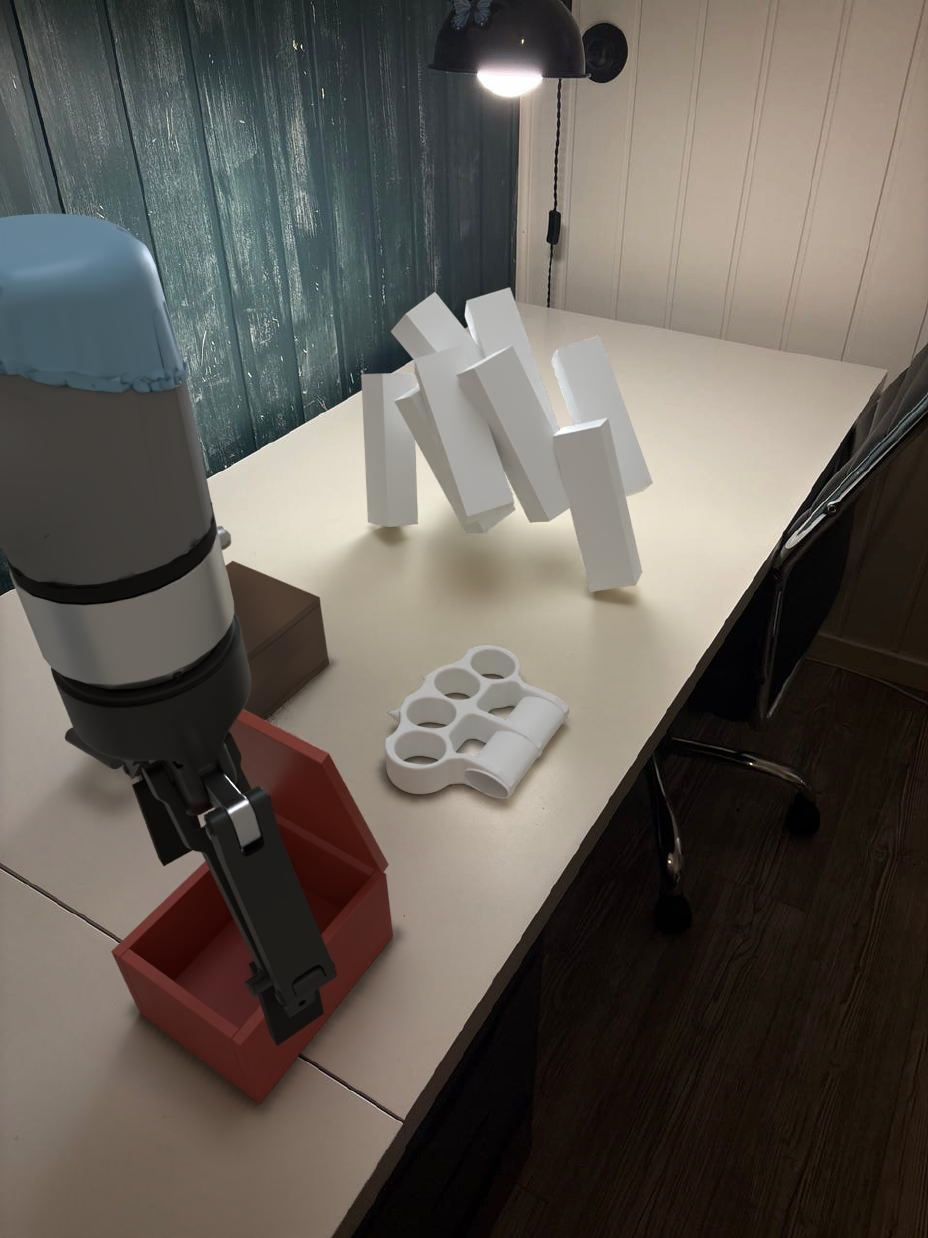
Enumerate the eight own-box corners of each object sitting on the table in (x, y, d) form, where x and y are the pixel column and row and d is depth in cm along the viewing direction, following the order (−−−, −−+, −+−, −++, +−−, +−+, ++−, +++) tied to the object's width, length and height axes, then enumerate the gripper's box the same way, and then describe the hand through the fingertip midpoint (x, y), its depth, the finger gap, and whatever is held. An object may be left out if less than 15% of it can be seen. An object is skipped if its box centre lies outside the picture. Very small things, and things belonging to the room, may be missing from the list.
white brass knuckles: (490, 833, 77) (349, 766, 83) (583, 703, 89) (454, 653, 95) (490, 806, 75) (346, 740, 81) (585, 678, 86) (454, 628, 93)
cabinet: (235, 746, 85) (218, 677, 80) (149, 699, 90) (127, 632, 85) (329, 663, 94) (320, 596, 88) (246, 625, 99) (232, 560, 93)
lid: (320, 763, 52) (329, 752, 52) (177, 689, 57) (186, 679, 57) (382, 874, 64) (389, 864, 64) (259, 804, 69) (266, 796, 69)
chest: (260, 1104, 60) (240, 1046, 55) (139, 1012, 65) (110, 951, 60) (393, 936, 69) (386, 873, 64) (278, 867, 74) (264, 804, 69)
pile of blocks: (679, 549, 118) (643, 266, 111) (649, 602, 91) (599, 231, 84) (430, 578, 130) (384, 325, 123) (337, 633, 103) (271, 311, 96)
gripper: (396, 769, 31) (423, 1066, 44) (116, 481, 47) (199, 765, 60) (190, 887, 28) (287, 1171, 41) (-38, 533, 43) (86, 822, 56)
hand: (235, 930), depth 50 cm, fingers open, 13 cm apart
